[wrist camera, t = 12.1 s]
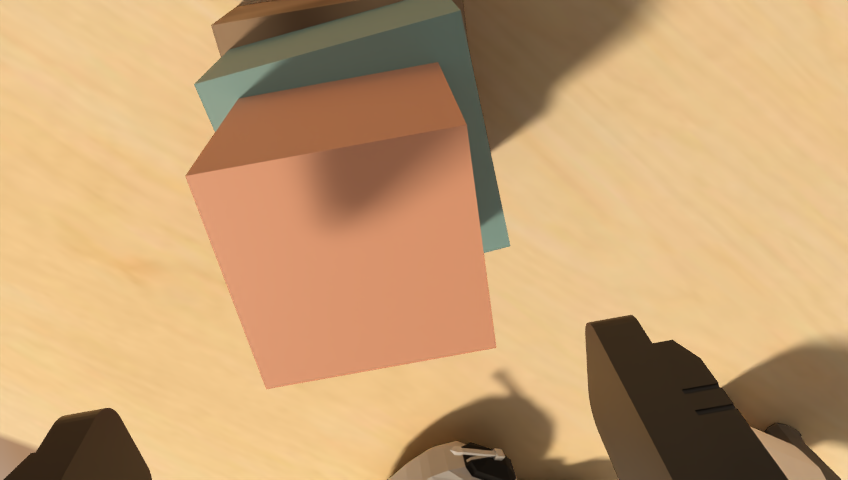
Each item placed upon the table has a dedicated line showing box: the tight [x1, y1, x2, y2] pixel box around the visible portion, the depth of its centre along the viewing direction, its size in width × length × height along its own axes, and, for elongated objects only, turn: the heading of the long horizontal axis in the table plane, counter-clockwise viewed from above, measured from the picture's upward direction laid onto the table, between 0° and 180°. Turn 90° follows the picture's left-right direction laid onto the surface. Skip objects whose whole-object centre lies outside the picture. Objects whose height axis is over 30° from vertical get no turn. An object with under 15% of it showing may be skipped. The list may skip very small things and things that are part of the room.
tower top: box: [194, 0, 510, 253], centre depth 22 cm, size 8×8×5 cm
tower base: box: [211, 0, 468, 57], centre depth 26 cm, size 9×9×5 cm
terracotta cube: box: [186, 62, 496, 389], centre depth 17 cm, size 6×6×6 cm
